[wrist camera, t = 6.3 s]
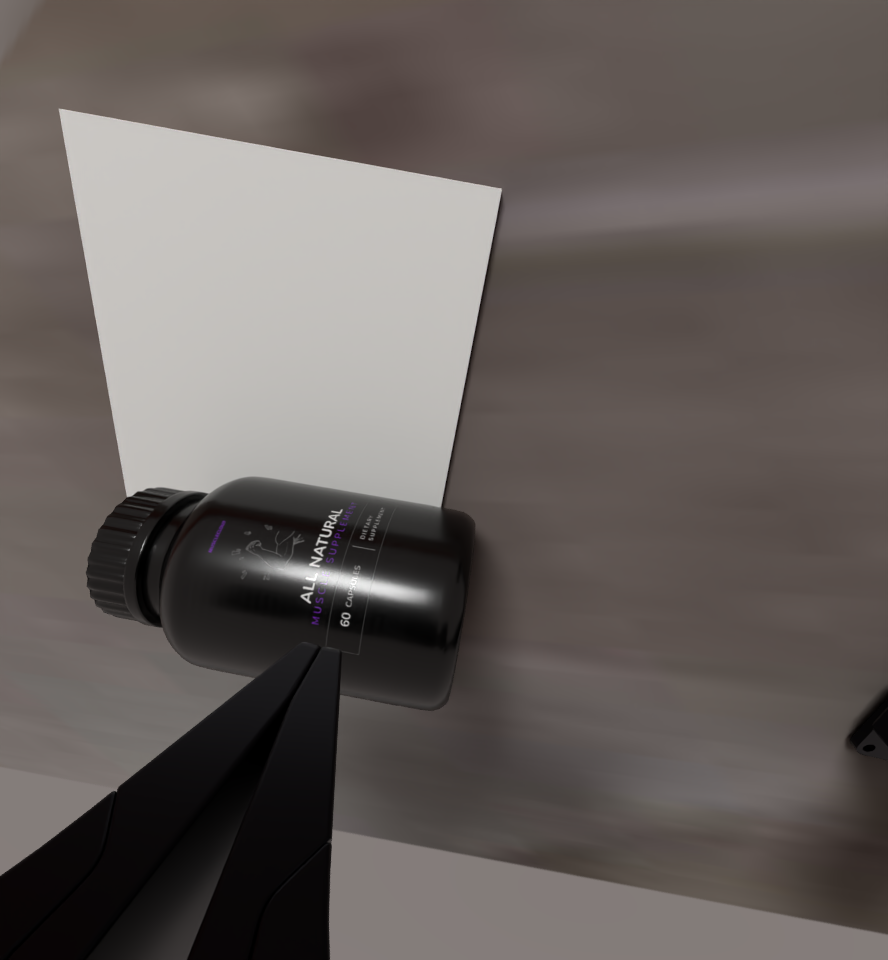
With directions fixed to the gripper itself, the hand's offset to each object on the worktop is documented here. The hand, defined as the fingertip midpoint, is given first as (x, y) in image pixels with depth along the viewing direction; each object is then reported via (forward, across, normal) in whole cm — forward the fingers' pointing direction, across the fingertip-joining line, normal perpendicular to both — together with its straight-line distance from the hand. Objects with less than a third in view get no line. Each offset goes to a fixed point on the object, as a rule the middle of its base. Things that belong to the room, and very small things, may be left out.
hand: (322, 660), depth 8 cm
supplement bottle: (+6, -3, +3) cm, 7 cm away
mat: (+10, +6, 0) cm, 11 cm away
